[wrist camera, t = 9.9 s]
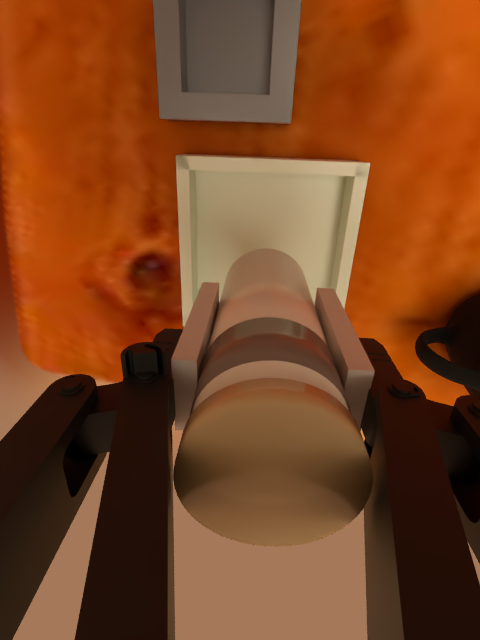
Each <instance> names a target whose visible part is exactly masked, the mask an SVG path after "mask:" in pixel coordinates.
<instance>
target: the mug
mask: <svg viewBox="0 0 480 640" xmlns="http://www.w3.org/2000/svg"><path fill="white" fill-rule="evenodd" d="M430 343H443V344H445V345H446V348H447V352H448V355H449V357H450V360H451V362H450V361H448V360H446V359H444V358H443V357H441V356H439V355H438V354H436V353H435V352H434V351H432V350H431V349H430V348H429V346H428V345H427V344H430ZM415 350H416V354H417V356H418V358H419V359H420V360H421V362H422V363H423V364H424V365H426V366H427V367H428V368H429V369H431V370H432V371H433V372H435V373H437V374H438V375H440V376H442V377H444V378H446V379H449V380H451V381H454V382H456V383H459V384H462V385H464V386H465V388H466V389H467V391H468V392H469V394H470V395H471V396H478V397H480V294H479V295H477V296H474V297H472V298H471V299H469V300H467V301H466V302H464V303H463V304H462V305H461V306H460V307H458V308H457V310H456V311H455V312H454V313H453V315H452V316H451V318H450V319H449V322H448V324H447V327H443V328H435V329H430V330H427V331H425V332H423V333H422V334H421V335H420V336H419V337H418V338H417V341H416V344H415Z"/></svg>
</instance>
